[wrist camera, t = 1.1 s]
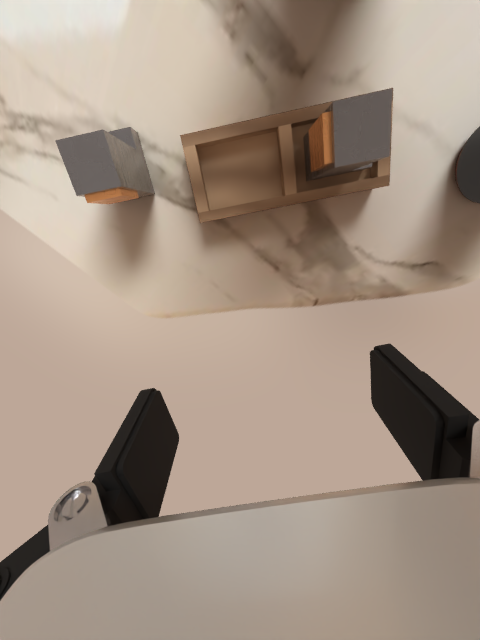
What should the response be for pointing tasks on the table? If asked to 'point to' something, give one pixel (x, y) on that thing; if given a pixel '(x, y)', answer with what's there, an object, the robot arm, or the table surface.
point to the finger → (106, 166)
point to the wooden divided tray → (265, 166)
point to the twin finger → (349, 135)
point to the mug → (469, 168)
